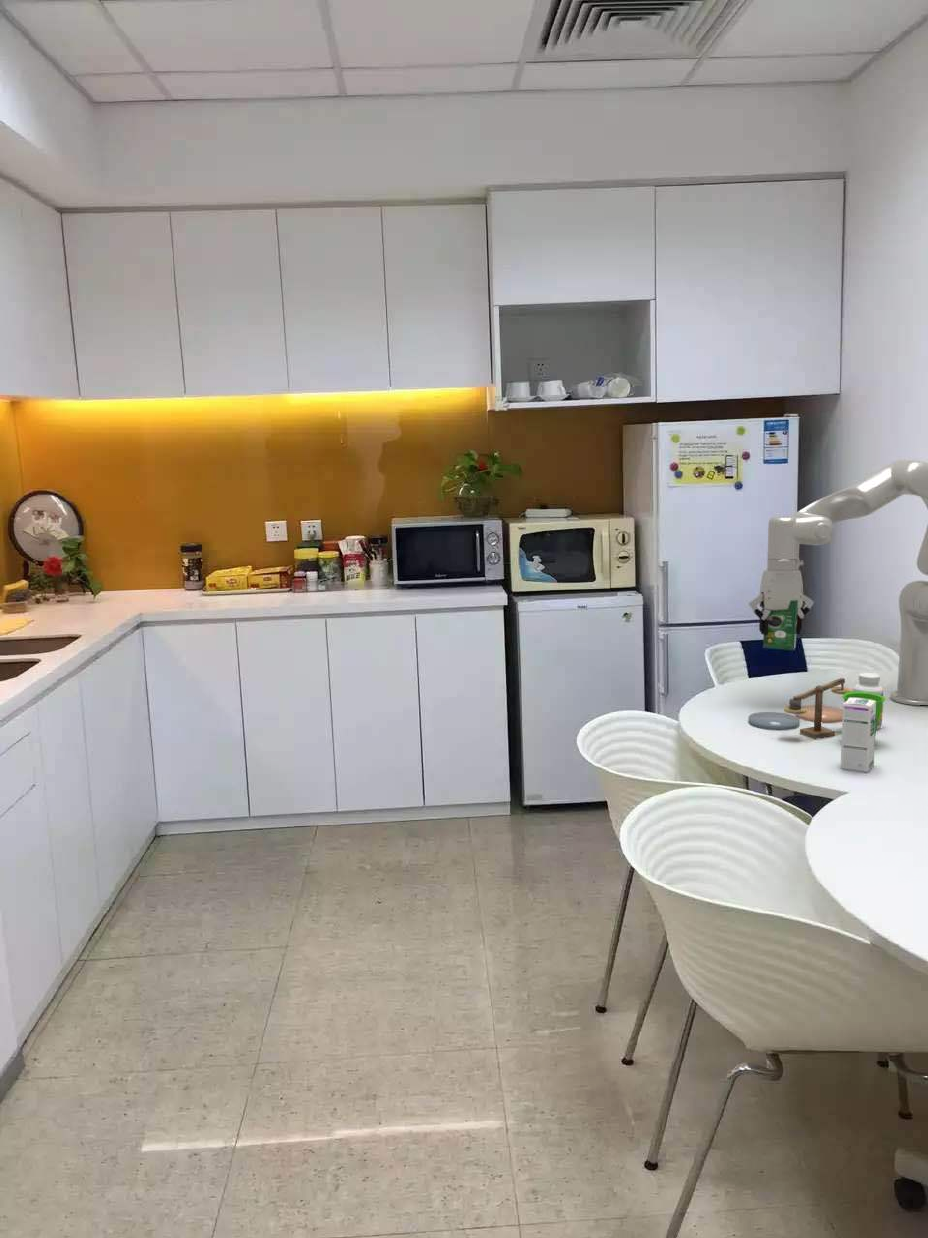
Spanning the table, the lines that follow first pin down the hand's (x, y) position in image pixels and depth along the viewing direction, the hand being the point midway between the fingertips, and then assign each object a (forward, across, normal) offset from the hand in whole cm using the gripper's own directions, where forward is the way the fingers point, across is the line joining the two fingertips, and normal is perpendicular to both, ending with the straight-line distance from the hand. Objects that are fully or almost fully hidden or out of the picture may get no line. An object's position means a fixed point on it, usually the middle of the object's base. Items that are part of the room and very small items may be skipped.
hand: (780, 633), depth 256 cm
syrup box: (+20, +1, +46) cm, 51 cm away
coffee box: (+4, 0, 0) cm, 4 cm away
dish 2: (+20, -8, +8) cm, 23 cm away
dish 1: (+20, +6, +12) cm, 24 cm away
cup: (+20, -7, +31) cm, 38 cm away
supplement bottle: (+20, -15, +19) cm, 31 cm away
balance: (+20, 0, +23) cm, 31 cm away
